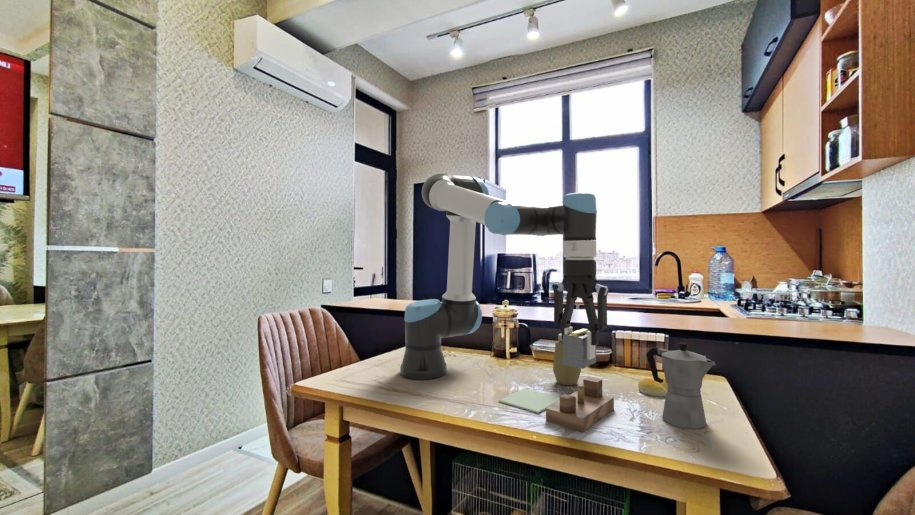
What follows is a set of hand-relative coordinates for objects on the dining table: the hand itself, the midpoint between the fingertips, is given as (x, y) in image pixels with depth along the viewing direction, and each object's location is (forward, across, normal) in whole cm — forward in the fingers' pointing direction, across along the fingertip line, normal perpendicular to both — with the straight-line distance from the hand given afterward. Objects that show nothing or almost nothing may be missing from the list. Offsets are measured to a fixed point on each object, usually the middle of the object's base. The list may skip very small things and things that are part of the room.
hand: (579, 356), depth 97 cm
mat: (+14, -14, 0) cm, 20 cm away
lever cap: (+2, 0, 0) cm, 2 cm away
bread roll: (+15, +9, +29) cm, 33 cm away
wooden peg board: (+14, 0, 0) cm, 14 cm away
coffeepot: (+14, +18, +12) cm, 26 cm away
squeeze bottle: (+15, -14, +19) cm, 28 cm away
